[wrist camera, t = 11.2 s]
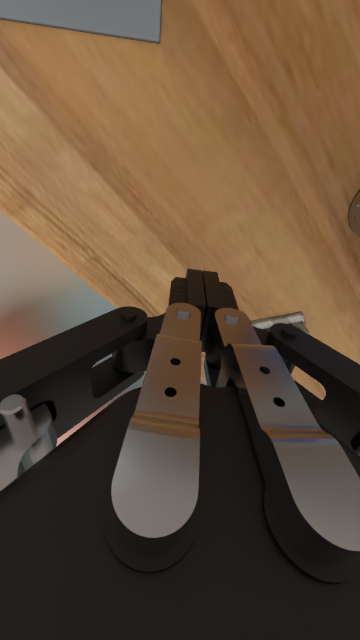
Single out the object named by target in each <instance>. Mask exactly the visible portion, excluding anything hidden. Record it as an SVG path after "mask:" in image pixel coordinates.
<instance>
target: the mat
mask: <svg viewBox="0 0 360 640" xmlns="http://www.w3.org/2000/svg"><path fill="white" fill-rule="evenodd" d="M161 4H162V0H0V19H2V20H9V21H15V22H22V23H28V24H35V25H41V26H48V27H54V28H61V29H67V30H74V31H80V32H87V33H94V34H100V35H107V36H113V37H120V38H126V39H133V40H139V41H146V42H152V43H159V44H160V25H161Z"/></svg>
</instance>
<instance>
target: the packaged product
mask: <svg viewBox="0 0 360 640" xmlns="http://www.w3.org/2000/svg"><path fill="white" fill-rule="evenodd" d="M250 322H251V324H252V326H254V327H257V328H260V329H263V330H267V331H269V330H270V327H271V326H272V325H273V324H276V323H285V324H289V325H292V326H295V327H297V328H299V329H300V330H302V331H304V332H305V333H307V334H309V331H308V329H307V328H306V327H305V317H304V314H303V313H302V312H298V313H293V314H288V315H283V316H276V317H270V318H264V319H259V320H253V321H250Z"/></svg>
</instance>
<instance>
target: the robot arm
mask: <svg viewBox="0 0 360 640" xmlns="http://www.w3.org/2000/svg"><path fill="white" fill-rule="evenodd" d="M349 223H350V226H351V228H352V230H353V231H354V232H355V233H356V234H357V235H359V236H360V191H359V192H358V194H357V195H356V197H355V198H354V200H353V202H352V205H351V207H350V212H349ZM201 352H205V360H204V371H205V377H206V382H207V385H204V384H200V377H201ZM111 353H112V357H110V358H109V359H107V360H105V361H103V362H102V363H100V364H98V365H97V366H95V367H93V365H94V364H95V363H96V362H97V361H99V360H101V359H103V358H104V357H106V356H108V355H110V354H111ZM295 366H297V367H298V368H300V369H301V370H303V371H304V372H305V373H307V374H308V375H310V376H311V377H313V378H314V379H315V380H317V381H318V382H320V383H321V384H322V385H323V386H324V388H325V390H326V396H325V398H324V400H321V399H319V398H318V397H316V396H315V395H314V394H312V393H311V392H310V391H308V390H307V389H305V388H304V387H303V386H301V385H300V384H299V383H297V382H296V381H295V380H293V378H292V376H291V373H292V371H293V369H294V367H295ZM92 367H93V368H92ZM145 371H146V374H145V378H144V381H143V385H142V387H140V388H137V389H134V390H131V391H129V392H127V393H125V394H124V395H122V396H120V397H119V398H117V399H116V400H115V401H113V402H112V403H111V404H110V405H108V406H107V407H106V408H105V409H103V410H102V411H101V412H100V413H98V414H97V415H96V416H94V417H93V418H92V419H91V420H90V421H88V422H87V423H86V424H84V425H83V426H82V427H81V428H80V429H78V430H77V431H76V432H74V433H73V434H72V435H70V436H69V437H68V438H67V439H65V440H64V441H63V442H62V443H60V444H59V445H58V446H57V447H56V444H57V439H58V438H59V437H60V436H62V435H63V434H64V433H66V432H67V431H68V430H70V429H71V428H73V427H74V426H75V425H77V424H78V423H80V422H81V421H82V420H83V419H85V418H86V417H88V416H89V415H91V414H92V413H93V412H95V411H96V410H97V409H99V408H100V407H102V406H103V405H104V404H106V403H107V402H108V401H110V400H111V399H113V398H114V397H115V396H117V395H118V394H119V393H121V392H122V391H123V390H125V389H126V388H128V387H129V386H130V385H132V384H133V383H134V382H136V381H137V380H139V379H140V378H141V377H142V376H143V375H144V372H145ZM0 640H360V365H359V364H358V363H356V362H354V361H353V360H351V359H349V358H347V357H346V356H344V355H342V354H341V353H339V352H337V351H336V350H334V349H332V348H331V347H329V346H327V345H326V344H324V343H322V342H321V341H319V340H317V339H316V338H314V337H312V336H310V335H309V334H307V333H305V332H304V331H302V330H300V329H299V328H297V327H295V326H292V325H289V324H285V323H276V324H273V325H272V326H271V327H270V330H269V331H267V330H263V329H260V328H257V327H254V326H252V324H251V322H250V320H249V318H248V316H247V315H246V314H245V313H243V312H241V311H239V309H238V306H237V303H236V300H235V297H234V294H233V290H232V288H231V287H230V286H229V285H228V284H227V283H224V282H219V278H218V274H217V272H211V271H201V270H193V269H187V273H186V278H179V277H176V278H175V279H173V280H172V281H171V289H170V298H169V306H168V307H167V309H166V312H165V313H164V314H162V315H160V316H156V317H148V318H147V314H146V313H145V312H144V311H143V310H141V309H139V308H136V307H121V308H117V309H115V310H113V311H110V312H108V313H106V314H103V315H101V316H99V317H97V318H94V319H92V320H90V321H87V322H85V323H83V324H81V325H78V326H76V327H74V328H71V329H69V330H67V331H64V332H62V333H60V334H58V335H56V336H53V337H51V338H49V339H46V340H44V341H42V342H39V343H37V344H35V345H32V346H30V347H28V348H26V349H23V350H21V351H19V352H17V353H14V354H12V355H10V356H7V357H5V358H3V359H0Z"/></svg>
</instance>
